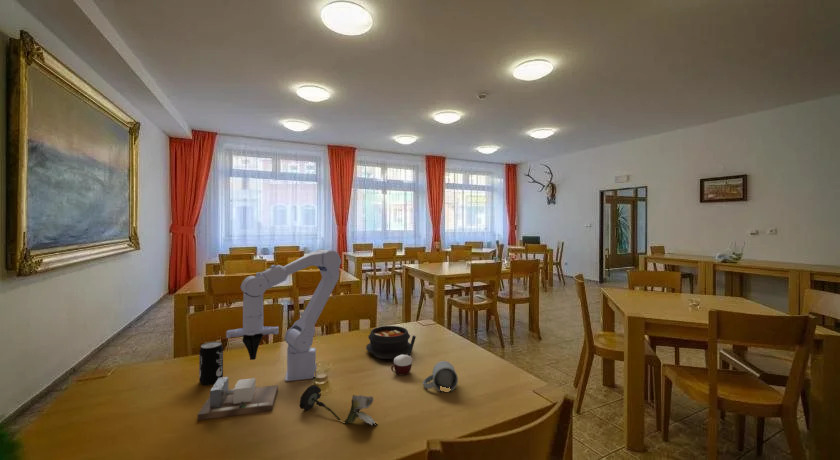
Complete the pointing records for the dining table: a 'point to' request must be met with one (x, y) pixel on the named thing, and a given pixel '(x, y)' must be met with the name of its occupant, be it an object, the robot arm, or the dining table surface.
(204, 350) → the beverage can
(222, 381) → the grey block
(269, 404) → the base
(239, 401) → the gauge carriage
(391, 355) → the casserole
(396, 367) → the cocoa
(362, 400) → the artificial flower
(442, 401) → the dining table surface
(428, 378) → the ceramic mug
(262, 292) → the robot arm
